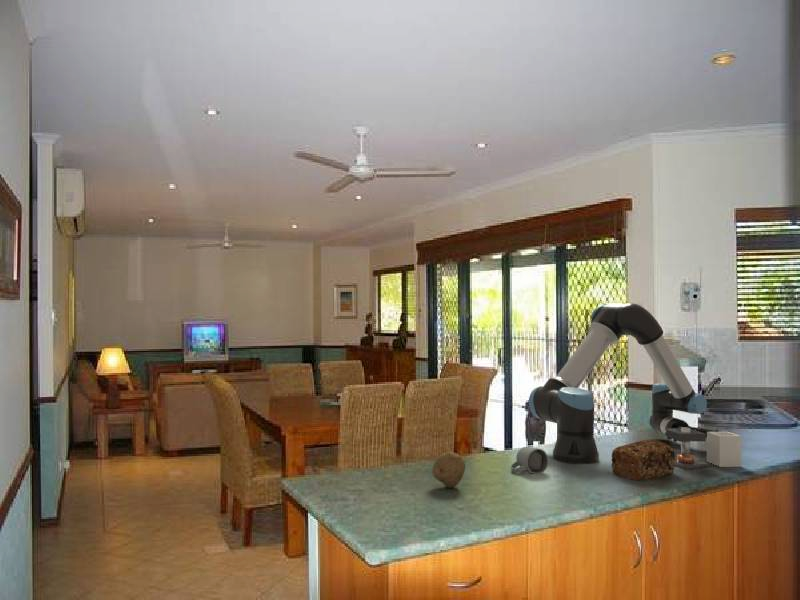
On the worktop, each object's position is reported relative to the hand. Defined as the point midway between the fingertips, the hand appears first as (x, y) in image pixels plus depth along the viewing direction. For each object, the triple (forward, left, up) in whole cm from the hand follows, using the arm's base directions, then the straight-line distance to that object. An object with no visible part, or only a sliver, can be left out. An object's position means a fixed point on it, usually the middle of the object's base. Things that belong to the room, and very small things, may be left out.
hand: (707, 439), depth 232 cm
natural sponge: (-101, +3, -6) cm, 102 cm away
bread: (-38, -8, -7) cm, 40 cm away
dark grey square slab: (-15, -4, +2) cm, 16 cm away
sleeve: (-3, -9, -6) cm, 12 cm away
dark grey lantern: (-15, -4, -6) cm, 17 cm away
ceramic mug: (-69, +9, -7) cm, 70 cm away
